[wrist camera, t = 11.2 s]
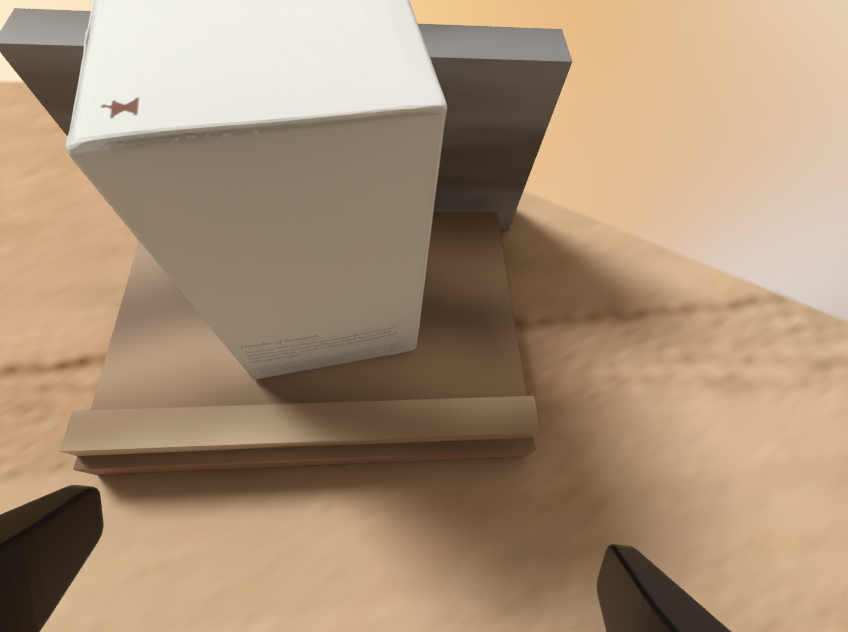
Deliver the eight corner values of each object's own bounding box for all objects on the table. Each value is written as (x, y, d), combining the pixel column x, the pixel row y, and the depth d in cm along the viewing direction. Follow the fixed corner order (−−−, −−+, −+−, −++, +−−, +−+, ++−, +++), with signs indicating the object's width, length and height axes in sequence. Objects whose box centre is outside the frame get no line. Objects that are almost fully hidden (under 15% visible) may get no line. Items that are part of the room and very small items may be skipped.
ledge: (547, 455, 20) (675, 384, 11) (70, 476, 18) (-238, 413, 9) (503, 202, 26) (561, 29, 17) (150, 200, 25) (14, 8, 16)
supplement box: (420, 354, 20) (458, 112, 9) (249, 383, 19) (40, 149, 8) (391, 224, 23) (391, -76, 12) (243, 243, 22) (89, -69, 11)
